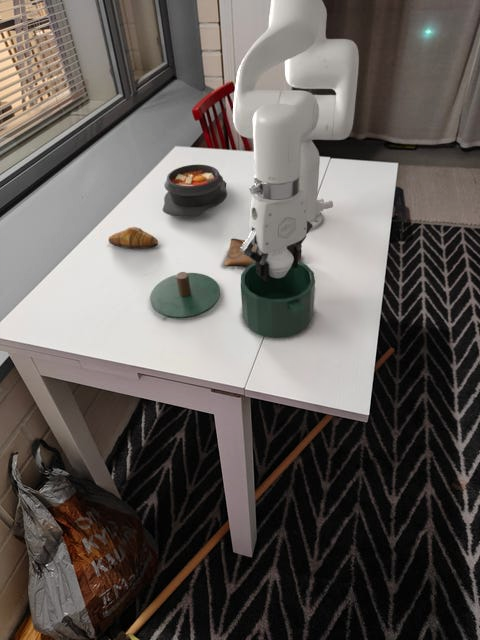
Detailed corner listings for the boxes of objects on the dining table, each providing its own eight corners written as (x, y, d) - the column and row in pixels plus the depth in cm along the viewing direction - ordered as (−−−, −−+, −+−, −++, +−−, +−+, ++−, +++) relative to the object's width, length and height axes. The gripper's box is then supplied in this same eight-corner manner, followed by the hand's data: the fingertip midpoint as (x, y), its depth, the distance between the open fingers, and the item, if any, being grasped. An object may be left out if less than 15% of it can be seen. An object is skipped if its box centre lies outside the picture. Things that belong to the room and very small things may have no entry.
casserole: (208, 227, 126) (205, 199, 120) (148, 218, 131) (142, 190, 125) (240, 186, 143) (238, 160, 137) (186, 180, 148) (182, 154, 143)
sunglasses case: (222, 266, 111) (224, 238, 109) (229, 264, 117) (231, 237, 116) (296, 273, 107) (299, 244, 105) (300, 271, 113) (303, 244, 112)
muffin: (288, 285, 87) (288, 254, 83) (257, 280, 89) (256, 249, 85) (296, 267, 92) (297, 236, 87) (267, 262, 93) (266, 232, 89)
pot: (287, 279, 106) (288, 244, 100) (332, 333, 92) (336, 296, 86) (228, 296, 103) (225, 261, 96) (265, 356, 89) (264, 319, 82)
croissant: (162, 239, 122) (159, 222, 119) (154, 253, 117) (150, 236, 114) (115, 236, 125) (111, 220, 121) (105, 250, 120) (100, 233, 116)
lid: (207, 270, 111) (204, 248, 107) (230, 308, 100) (228, 285, 96) (144, 287, 107) (138, 265, 103) (161, 329, 96) (155, 306, 92)
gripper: (246, 208, 72) (250, 297, 84) (331, 178, 79) (324, 264, 91) (222, 191, 77) (229, 277, 89) (304, 163, 84) (301, 247, 96)
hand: (277, 270), depth 90 cm, fingers closed on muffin, 6 cm apart
